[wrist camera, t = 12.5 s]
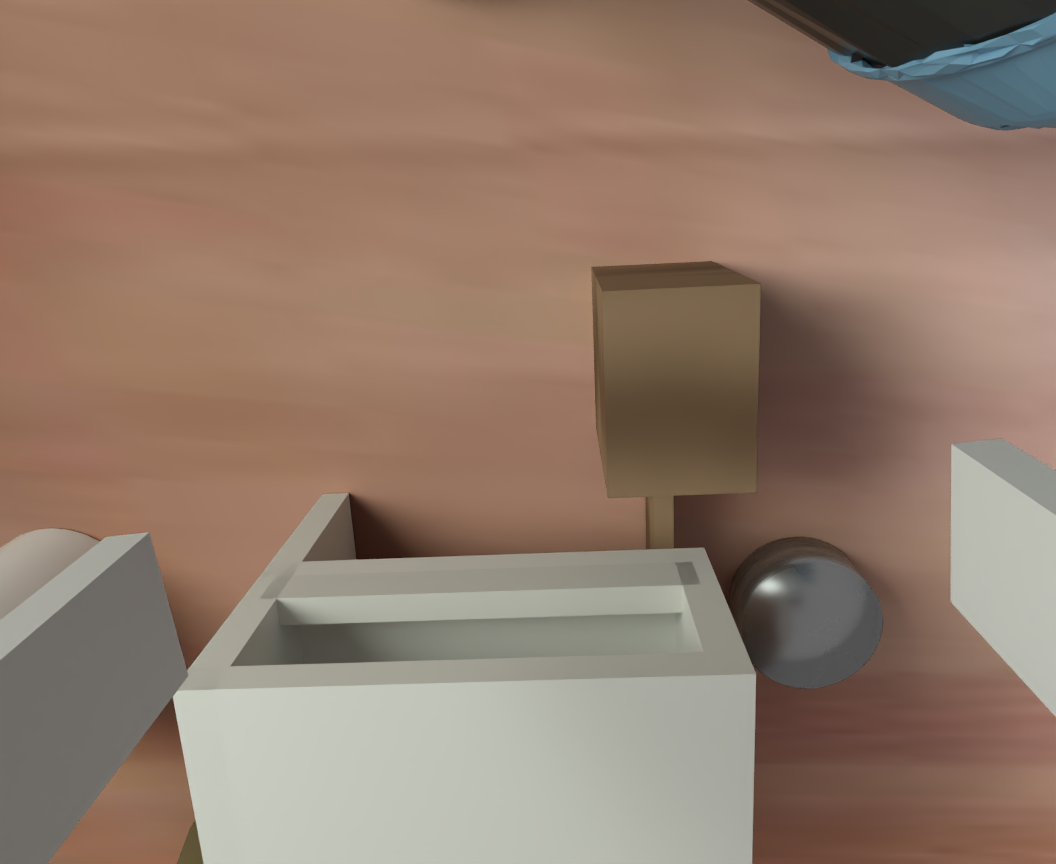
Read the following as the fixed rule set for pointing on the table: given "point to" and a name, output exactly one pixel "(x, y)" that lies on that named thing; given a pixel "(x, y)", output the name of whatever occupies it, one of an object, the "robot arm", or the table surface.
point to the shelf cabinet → (472, 710)
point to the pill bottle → (37, 562)
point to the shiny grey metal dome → (804, 612)
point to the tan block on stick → (675, 384)
